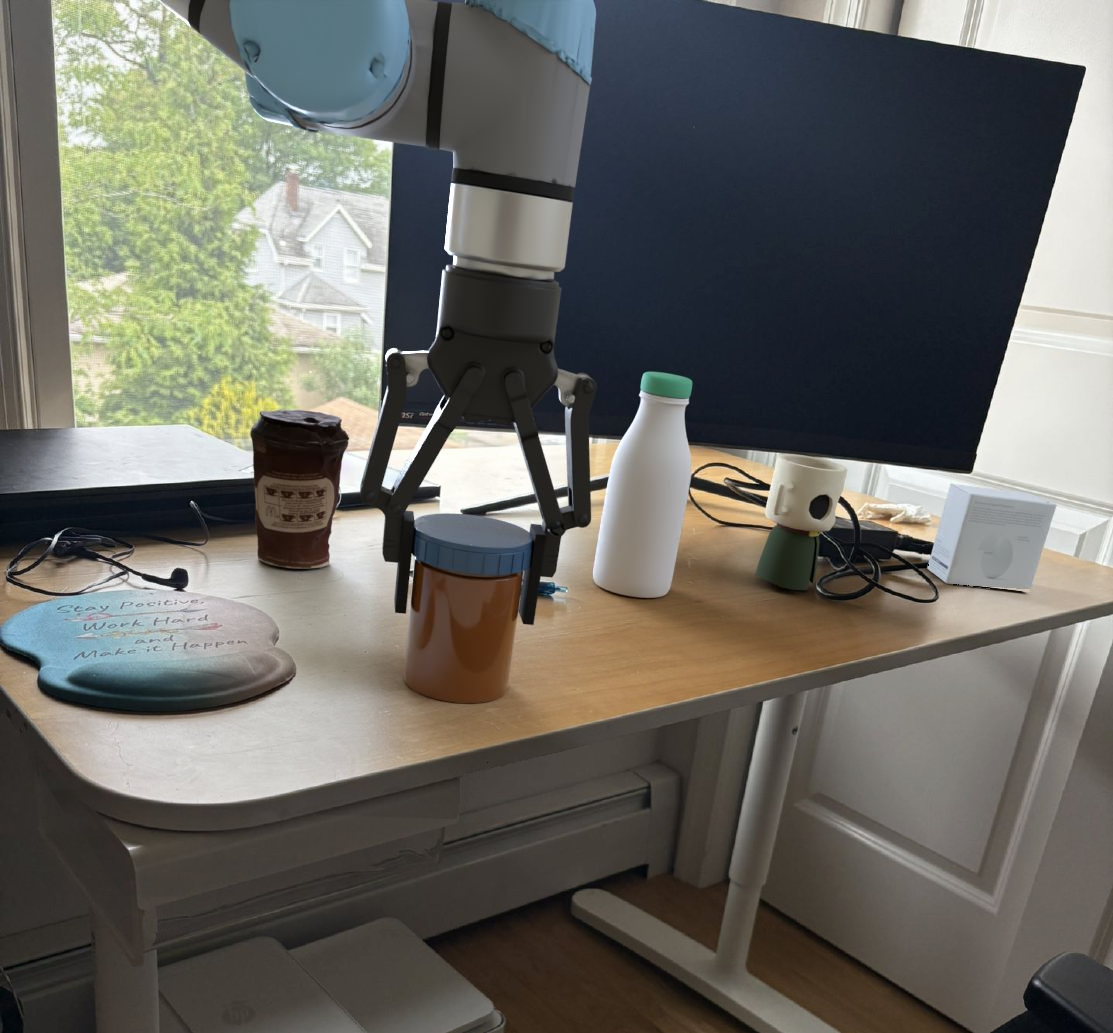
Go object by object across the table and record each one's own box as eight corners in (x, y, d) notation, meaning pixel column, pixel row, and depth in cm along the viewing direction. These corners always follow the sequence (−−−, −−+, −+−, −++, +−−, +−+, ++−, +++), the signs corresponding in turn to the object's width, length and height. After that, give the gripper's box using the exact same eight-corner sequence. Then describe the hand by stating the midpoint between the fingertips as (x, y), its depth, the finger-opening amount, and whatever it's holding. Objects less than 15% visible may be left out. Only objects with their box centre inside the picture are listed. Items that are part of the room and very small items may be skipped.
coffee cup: (345, 579, 100) (355, 430, 95) (247, 573, 98) (252, 420, 92) (335, 550, 108) (345, 410, 102) (245, 544, 105) (249, 400, 100)
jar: (406, 700, 78) (421, 551, 74) (400, 659, 85) (412, 520, 81) (514, 706, 80) (535, 561, 76) (499, 665, 87) (517, 530, 82)
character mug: (785, 603, 113) (816, 473, 108) (726, 582, 117) (753, 456, 112) (837, 589, 121) (869, 467, 116) (780, 569, 125) (808, 451, 120)
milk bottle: (673, 604, 108) (715, 387, 99) (592, 593, 107) (628, 374, 99) (665, 580, 115) (704, 376, 106) (589, 570, 114) (623, 363, 106)
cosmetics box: (1006, 578, 137) (1034, 492, 133) (1030, 594, 131) (1060, 505, 127) (924, 567, 136) (949, 480, 132) (944, 584, 130) (971, 493, 126)
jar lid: (522, 545, 83) (526, 520, 82) (537, 580, 76) (541, 553, 75) (407, 534, 82) (409, 508, 81) (411, 568, 74) (414, 540, 73)
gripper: (652, 288, 76) (598, 608, 86) (333, 240, 72) (314, 582, 82) (679, 298, 70) (618, 644, 79) (330, 246, 66) (309, 617, 75)
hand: (463, 612), depth 80 cm, fingers closed on jar lid, 8 cm apart
